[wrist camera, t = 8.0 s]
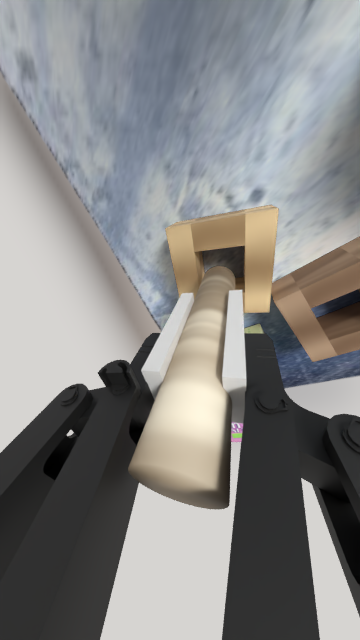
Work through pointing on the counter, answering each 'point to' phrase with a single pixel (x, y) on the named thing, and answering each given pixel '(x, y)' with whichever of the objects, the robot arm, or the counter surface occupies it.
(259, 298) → the bead
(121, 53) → the counter surface
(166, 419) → the dowel
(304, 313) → the bead walnut
